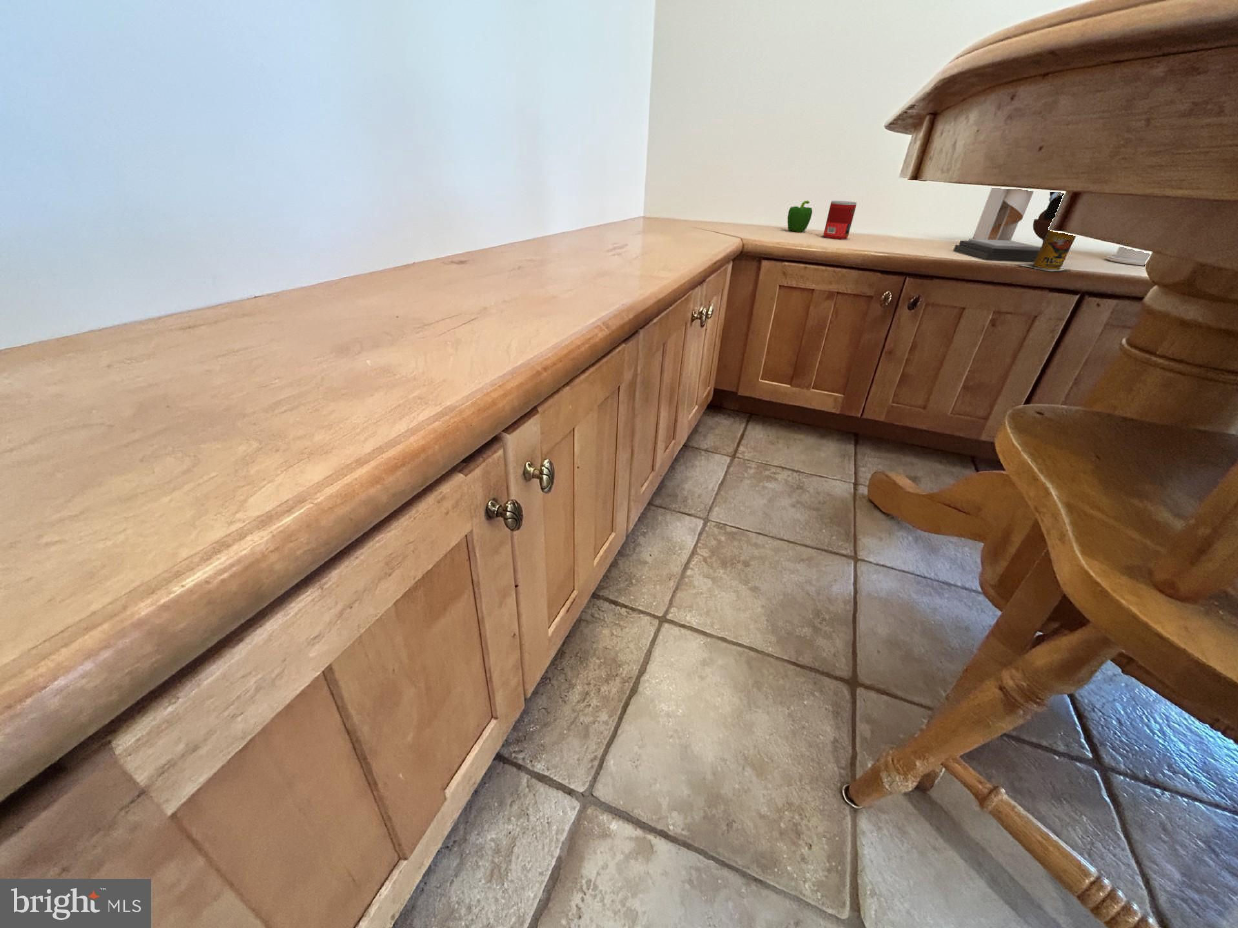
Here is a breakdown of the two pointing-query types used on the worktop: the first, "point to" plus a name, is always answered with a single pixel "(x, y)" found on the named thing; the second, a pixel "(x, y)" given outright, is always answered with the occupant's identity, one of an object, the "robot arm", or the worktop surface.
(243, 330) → the worktop surface
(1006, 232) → the display case
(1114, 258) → the robot arm
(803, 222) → the bell pepper
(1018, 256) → the scale
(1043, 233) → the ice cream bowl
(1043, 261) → the condiment
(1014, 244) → the scale pan
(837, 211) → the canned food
